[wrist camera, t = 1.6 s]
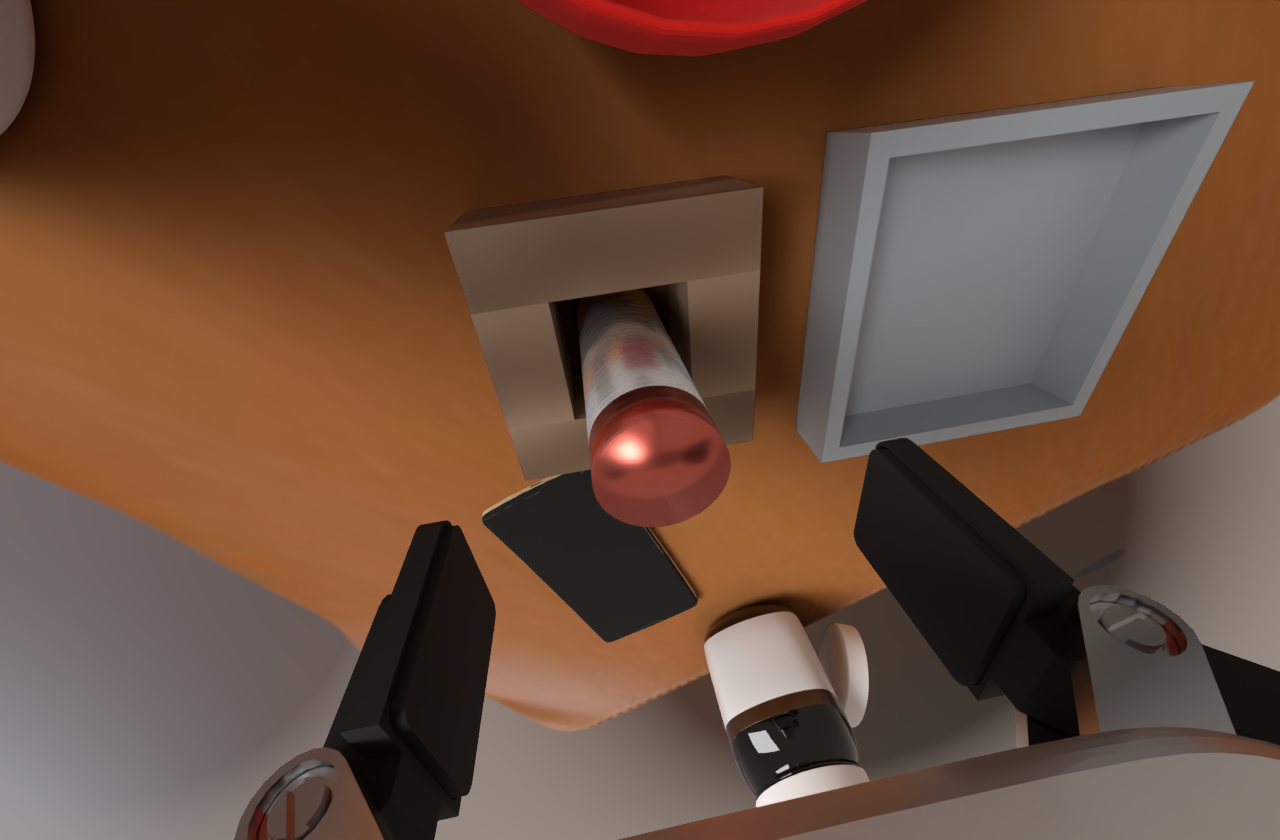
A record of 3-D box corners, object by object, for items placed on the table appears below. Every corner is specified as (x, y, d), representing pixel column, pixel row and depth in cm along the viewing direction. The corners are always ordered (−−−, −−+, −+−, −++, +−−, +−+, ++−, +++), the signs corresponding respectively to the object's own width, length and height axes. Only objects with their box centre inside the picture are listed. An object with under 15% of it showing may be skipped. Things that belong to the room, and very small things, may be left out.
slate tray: (826, 132, 17) (871, 133, 15) (1159, 87, 18) (1254, 81, 16) (795, 429, 25) (821, 463, 23) (1030, 388, 26) (1080, 415, 23)
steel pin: (570, 285, 19) (580, 432, 10) (649, 273, 19) (730, 406, 10) (584, 358, 21) (603, 537, 12) (656, 346, 21) (730, 513, 12)
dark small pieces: (597, 460, 23) (701, 606, 31) (595, 447, 24) (696, 592, 32) (476, 519, 24) (607, 645, 32) (479, 504, 25) (606, 631, 33)
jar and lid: (685, 614, 33) (736, 816, 23) (832, 559, 32) (949, 745, 22) (727, 684, 40) (781, 864, 30) (851, 640, 39) (947, 811, 29)
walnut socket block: (466, 211, 17) (443, 232, 14) (725, 175, 18) (763, 187, 14) (530, 428, 23) (525, 481, 19) (725, 395, 23) (753, 440, 20)
